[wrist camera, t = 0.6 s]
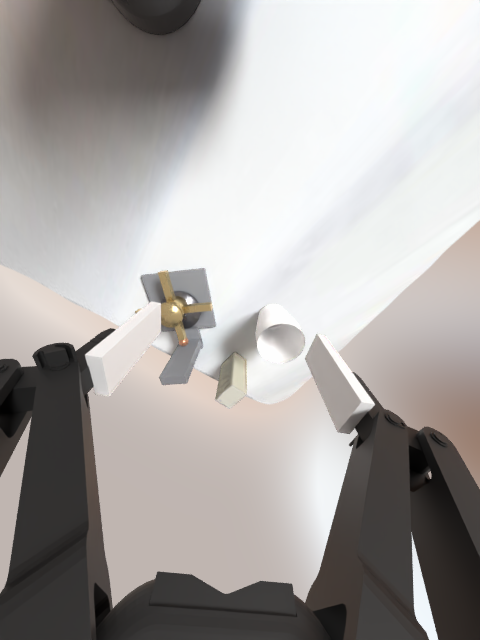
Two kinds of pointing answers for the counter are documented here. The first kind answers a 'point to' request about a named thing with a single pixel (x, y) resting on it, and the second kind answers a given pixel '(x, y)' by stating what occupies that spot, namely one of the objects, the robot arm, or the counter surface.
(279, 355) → the cup
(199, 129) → the counter surface
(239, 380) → the skincare box
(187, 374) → the stand
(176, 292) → the capstan
